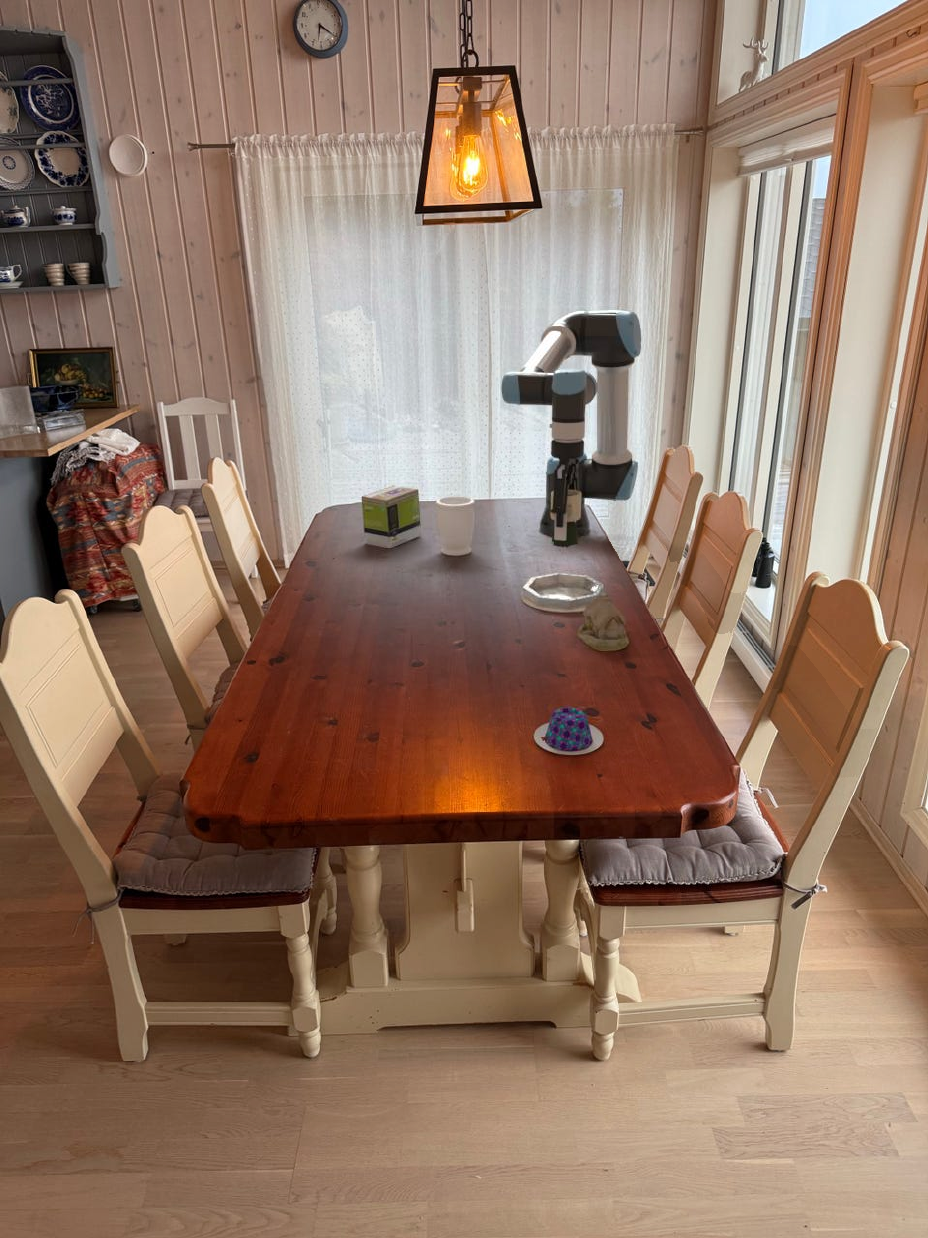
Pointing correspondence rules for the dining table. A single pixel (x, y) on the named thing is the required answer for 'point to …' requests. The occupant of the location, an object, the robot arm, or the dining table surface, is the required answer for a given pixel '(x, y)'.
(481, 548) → the dining table surface
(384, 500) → the tea box
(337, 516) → the dining table surface
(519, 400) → the robot arm
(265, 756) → the dining table surface
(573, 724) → the pudding
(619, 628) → the ceramic model
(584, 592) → the octagonal bowl
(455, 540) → the jar
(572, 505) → the character mug
